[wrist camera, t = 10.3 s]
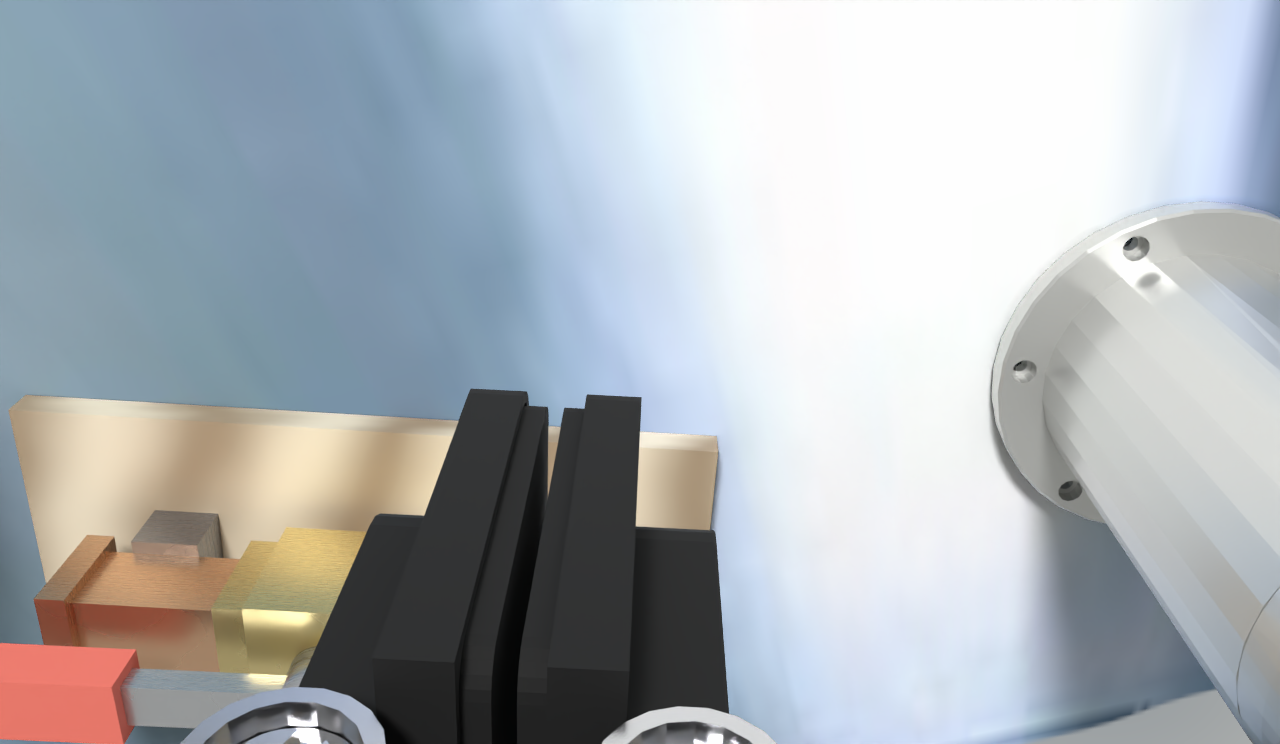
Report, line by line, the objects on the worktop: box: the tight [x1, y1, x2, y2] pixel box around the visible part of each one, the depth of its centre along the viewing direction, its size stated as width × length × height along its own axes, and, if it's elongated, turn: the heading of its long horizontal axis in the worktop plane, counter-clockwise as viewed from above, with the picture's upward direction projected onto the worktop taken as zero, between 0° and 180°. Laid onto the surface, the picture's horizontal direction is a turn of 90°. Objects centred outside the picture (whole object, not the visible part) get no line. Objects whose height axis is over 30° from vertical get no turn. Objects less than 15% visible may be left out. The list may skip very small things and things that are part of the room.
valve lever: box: [0, 643, 316, 744], centre depth 36 cm, size 14×3×2 cm, turn 87°
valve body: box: [34, 510, 367, 675], centre depth 40 cm, size 20×5×6 cm, turn 87°
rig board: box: [9, 395, 718, 584], centre depth 43 cm, size 26×12×1 cm, turn 87°
